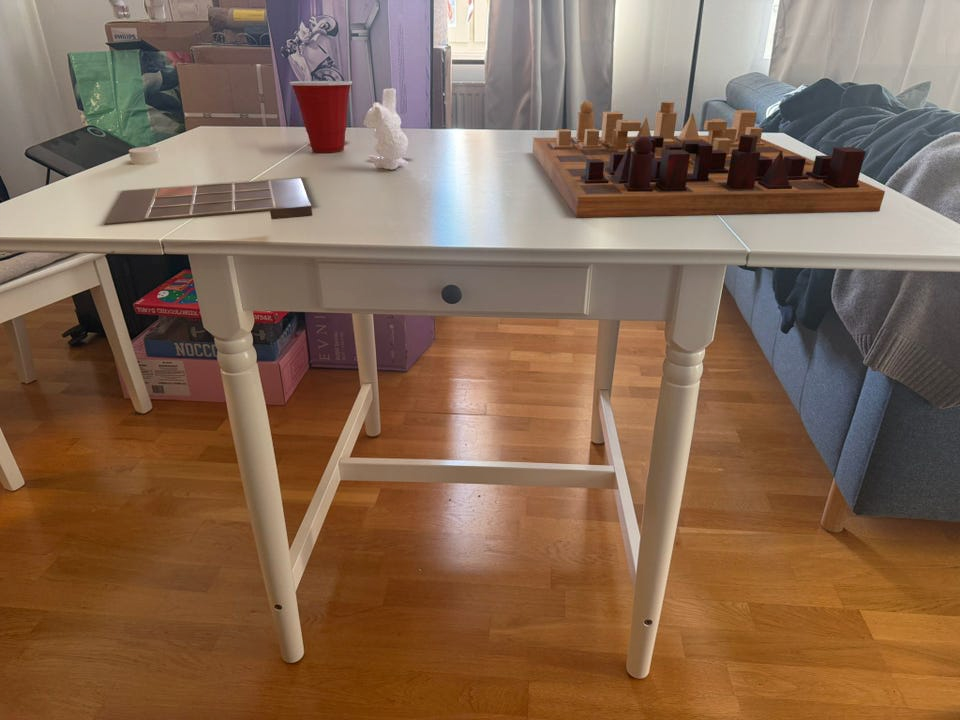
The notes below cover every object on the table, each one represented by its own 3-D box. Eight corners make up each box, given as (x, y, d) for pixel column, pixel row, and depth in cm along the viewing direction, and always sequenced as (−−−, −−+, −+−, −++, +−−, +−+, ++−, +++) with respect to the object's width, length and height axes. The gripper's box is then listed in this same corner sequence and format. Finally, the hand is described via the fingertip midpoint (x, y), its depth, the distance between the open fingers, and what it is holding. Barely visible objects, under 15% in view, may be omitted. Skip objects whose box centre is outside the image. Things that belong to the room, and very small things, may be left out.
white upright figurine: (380, 160, 115) (375, 85, 109) (418, 162, 113) (414, 86, 108) (361, 172, 108) (354, 91, 102) (401, 174, 106) (396, 93, 100)
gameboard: (749, 149, 123) (759, 96, 118) (879, 210, 88) (900, 138, 83) (532, 152, 120) (534, 98, 116) (576, 217, 85) (581, 142, 81)
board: (106, 233, 80) (103, 222, 79) (124, 199, 93) (122, 190, 93) (312, 215, 86) (311, 205, 86) (301, 186, 100) (300, 177, 99)
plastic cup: (361, 143, 128) (355, 75, 123) (354, 155, 119) (348, 82, 113) (303, 144, 128) (295, 76, 122) (292, 156, 118) (283, 82, 113)
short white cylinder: (131, 172, 108) (126, 152, 106) (134, 166, 111) (130, 147, 110) (161, 170, 109) (156, 151, 108) (163, 164, 113) (159, 146, 111)
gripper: (58, -85, 101) (84, 18, 108) (137, -94, 91) (160, 20, 98) (99, -81, 106) (121, 17, 113) (178, -89, 96) (197, 19, 102)
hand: (140, 19), depth 105 cm, fingers open, 8 cm apart
